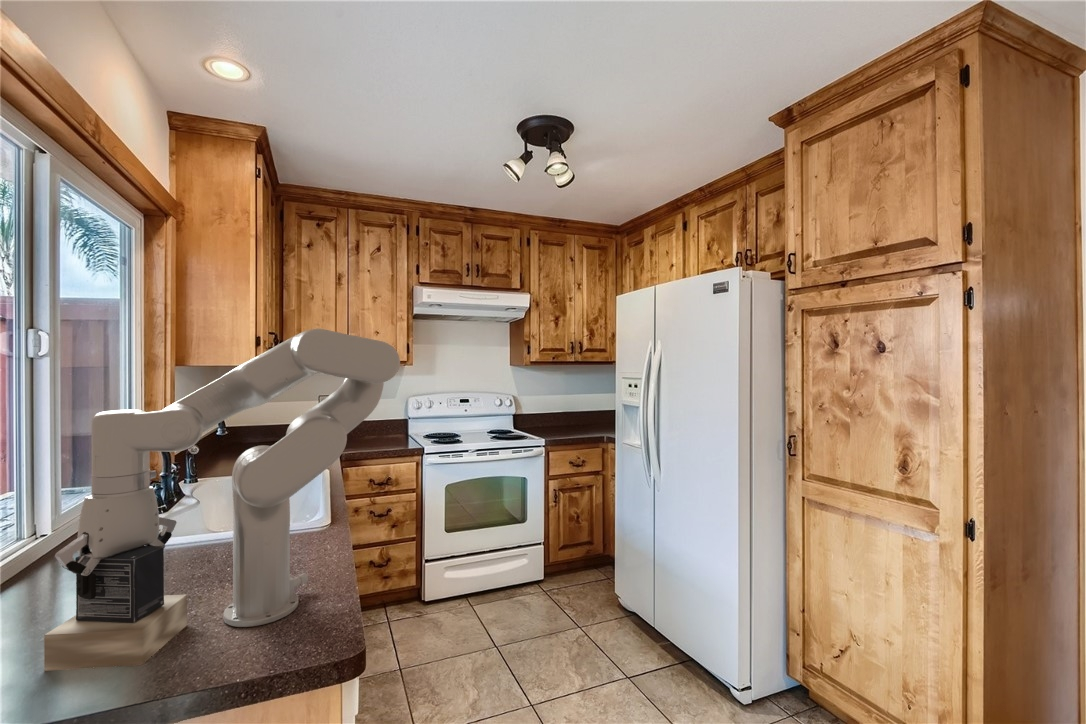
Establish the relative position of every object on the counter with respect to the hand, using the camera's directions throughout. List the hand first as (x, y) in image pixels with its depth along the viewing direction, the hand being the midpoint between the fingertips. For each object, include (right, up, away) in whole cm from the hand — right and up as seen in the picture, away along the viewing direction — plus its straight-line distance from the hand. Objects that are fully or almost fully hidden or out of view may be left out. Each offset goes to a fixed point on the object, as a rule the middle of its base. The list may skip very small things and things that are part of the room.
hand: (121, 584), depth 85 cm
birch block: (0, -11, 0) cm, 11 cm away
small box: (0, -5, 0) cm, 5 cm away
